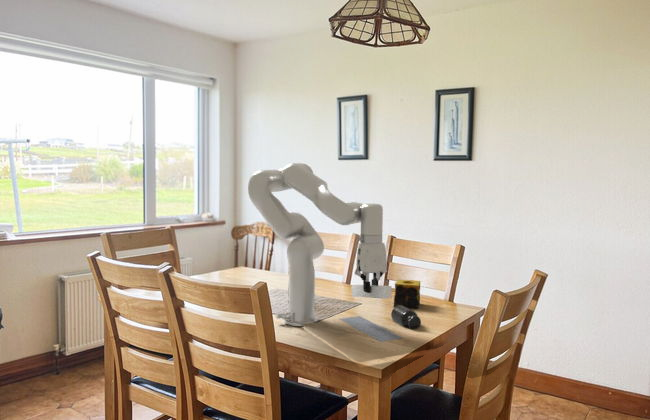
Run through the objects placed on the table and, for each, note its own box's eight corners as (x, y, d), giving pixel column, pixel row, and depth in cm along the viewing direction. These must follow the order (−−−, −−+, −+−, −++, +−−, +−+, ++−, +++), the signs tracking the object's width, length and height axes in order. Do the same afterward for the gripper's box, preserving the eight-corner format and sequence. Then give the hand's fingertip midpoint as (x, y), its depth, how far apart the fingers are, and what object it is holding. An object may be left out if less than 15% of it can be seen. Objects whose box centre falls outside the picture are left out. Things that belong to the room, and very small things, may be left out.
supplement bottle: (410, 312, 195) (427, 322, 184) (397, 326, 194) (414, 336, 183) (399, 300, 193) (416, 309, 182) (387, 313, 192) (403, 323, 181)
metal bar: (385, 298, 171) (384, 286, 172) (352, 296, 191) (351, 285, 191) (391, 297, 173) (390, 285, 173) (358, 295, 192) (357, 284, 192)
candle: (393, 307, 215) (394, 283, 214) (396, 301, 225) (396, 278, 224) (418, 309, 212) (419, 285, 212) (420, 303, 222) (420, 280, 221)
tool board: (380, 345, 169) (380, 341, 169) (338, 322, 193) (338, 318, 193) (403, 341, 173) (403, 337, 173) (359, 319, 198) (359, 316, 197)
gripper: (356, 242, 173) (356, 296, 175) (396, 239, 181) (396, 291, 182) (345, 239, 180) (345, 291, 182) (384, 236, 187) (384, 287, 189)
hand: (370, 291), depth 182 cm, fingers closed on metal bar, 2 cm apart
